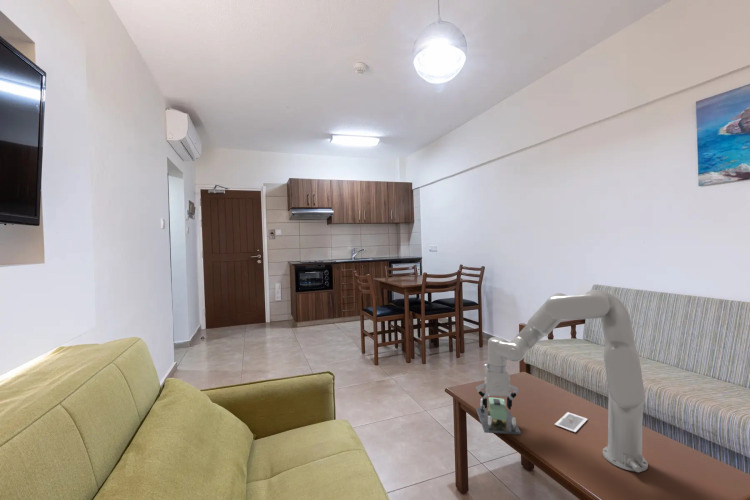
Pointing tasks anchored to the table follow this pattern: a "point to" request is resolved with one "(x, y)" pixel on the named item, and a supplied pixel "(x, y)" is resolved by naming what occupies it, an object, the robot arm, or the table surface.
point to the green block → (497, 408)
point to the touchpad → (571, 422)
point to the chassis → (497, 422)
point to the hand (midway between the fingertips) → (497, 407)
